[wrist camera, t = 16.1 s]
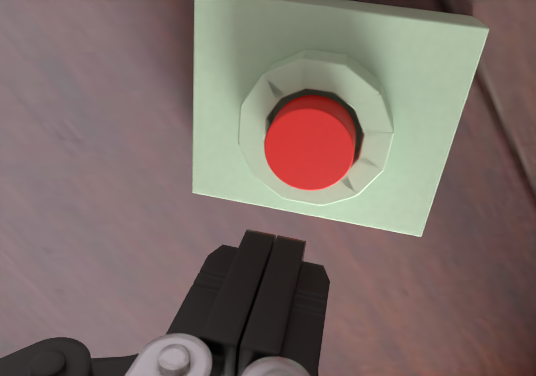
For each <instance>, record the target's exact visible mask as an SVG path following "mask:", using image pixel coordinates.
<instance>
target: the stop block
mask: <svg viewBox="0 0 536 376" xmlns="http://www.w3.org/2000/svg"><path fill="white" fill-rule="evenodd" d="M488 32H489V27H487V26H486V25H484V24H483V23H482V22H480V21H479V20H477V19H476V18H475V17H473V16H468V15H460V14H452V13H444V12H436V11H428V10H420V9H412V8H404V7H397V6H389V5H381V4H373V3H365V2H357V1H349V0H194V77H193V163H192V192H193V193H198V194H203V195H208V196H213V197H218V198H223V199H229V200H234V201H239V202H244V203H249V204H254V205H260V206H265V207H270V208H275V209H280V210H285V211H291V212H296V213H301V214H306V215H311V216H316V217H322V218H327V219H332V220H337V221H342V222H347V223H353V224H358V225H363V226H368V227H373V228H378V229H384V230H389V231H394V232H399V233H404V234H409V235H415V236H422V233H423V230H424V227H425V224H426V221H427V218H428V215H429V212H430V209H431V206H432V203H433V199H434V196H435V193H436V190H437V187H438V184H439V181H440V178H441V175H442V172H443V169H444V166H445V163H446V160H447V157H448V154H449V151H450V148H451V145H452V142H453V138H454V135H455V132H456V129H457V126H458V123H459V120H460V117H461V114H462V111H463V108H464V105H465V102H466V99H467V96H468V93H469V90H470V87H471V84H472V81H473V77H474V74H475V71H476V68H477V65H478V62H479V59H480V56H481V53H482V50H483V47H484V44H485V41H486V38H487V35H488ZM305 95H320V96H325V97H328V98H330V99H332V100H334V101H336V102H338V103H339V104H340V105H341V106H343V107H344V108H345V109H346V111H347V112H348V113H349V115H350V116H351V118H352V120H353V123H354V126H355V131H356V140H355V151H354V159H353V162H352V165H351V167H350V169H349V171H348V172H347V174H346V175H345V176H344V177H343V178H342V179H341V180H340V181H339V182H337V183H336V184H334V185H332V186H330V187H328V188H325V189H321V190H315V191H307V190H301V189H297V188H294V187H291V186H289V185H287V184H286V183H284V182H283V181H281V180H280V179H279V178H278V177H277V176H276V175H275V174H274V173H273V171H272V170H271V168H270V167H269V165H268V163H267V160H266V157H265V151H264V142H265V137H266V134H267V131H268V129H269V127H270V126H271V124H272V122H273V120H274V119H275V117H276V115H277V114H278V112H279V111H280V109H281V108H282V107H283V106H284V105H285V104H287V103H288V102H289V101H291V100H293V99H295V98H297V97H301V96H305Z"/></svg>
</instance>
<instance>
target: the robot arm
mask: <svg viewBox="0 0 536 376" xmlns="http://www.w3.org/2000/svg"><path fill="white" fill-rule="evenodd" d="M305 246H306V241H303V240H298V239H293V238H289V237H284V236H279V235H278V236H277V238H276V235H273V234H268V233H263V232H258V231H253V230H249V229H247V231H246V232H245V235H244V237H243V239H242V241H241V243H240V246H239V248H236V247H231V246H227V245H222V246H220V247H219V248H218V249H216V250H215V251H214V252H212V253H211V254H210V255H208V257H207V259H206V260H205V262H204V264H203V266H202V268H201V270H200V273H198V275H197V277H196V279H195V281H194V284H193V286H192V287H191V288H190V290H189V292H188V294H187V296H186V298H185V300H184V301H183V303H182V305H181V307H180V309H179V311H178V313H177V315H176V316H175V318H174V320H173V322H172V324H171V326H170V328H169V330H168V331H167V333H166V334H165V335H163V336H160V337H158V338H156V339H154V340H153V341H151V342H150V343H148V344H147V345H146V346H145V347H144V348H143V349H142V351H141V352H140V353H139V354H136V355H131V356H125V357H109V358H91V356H90V353H89V350H88V349H87V347H86V346H85V345H84V344H83V343H81V342H79V341H78V340H75V339H72V338H66V337H57V338H50V339H46V340H43V341H40V342H37V343H35V344H33V345H30V346H28V347H26V348H23V349H21V350H19V351H16V352H14V353H12V354H10V355H7V356H5V357H3V358H0V376H318V365H319V358H320V351H321V343H322V336H323V328H324V321H325V313H326V306H327V299H328V291H329V284H330V281H329V278H328V276H327V274H326V271H325V269H324V266H323V265H318V264H313V263H308V262H304V261H303V258H304V252H305Z"/></svg>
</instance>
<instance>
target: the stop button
mask: <svg viewBox="0 0 536 376" xmlns="http://www.w3.org/2000/svg"><path fill="white" fill-rule="evenodd" d="M355 140H356V131H355V126H354V123H353V120H352V118H351V116H350V115H349V113H348V112H347V111H346V109H345V108H344V107H343V106H341V105H340V104H339V103H338V102H336V101H334V100H332V99H330V98H328V97H325V96H320V95H305V96H301V97H297V98H295V99H293V100H291V101H289V102H288V103H287V104H285V105H284V106H283V107H282V108H281V109H280V111H279V112H278V114H277V115H276V117H275V119H274V120H273V122H272V124H271V126H270V127H269V129H268V131H267V134H266V137H265V142H264V151H265V157H266V160H267V163H268V165H269V167H270V168H271V170H272V171H273V173H274V174H275V175H276V176H277V177H278V178H279V179H280V180H281V181H283V182H284V183H286V184H287V185H289V186H291V187H294V188H297V189H301V190H307V191H315V190H321V189H325V188H328V187H330V186H332V185H334V184H336V183H337V182H339V181H340V180H341V179H342V178H343V177H344V176H345V175H346V174H347V172H348V171H349V169H350V167H351V165H352V162H353V159H354V151H355Z"/></svg>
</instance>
